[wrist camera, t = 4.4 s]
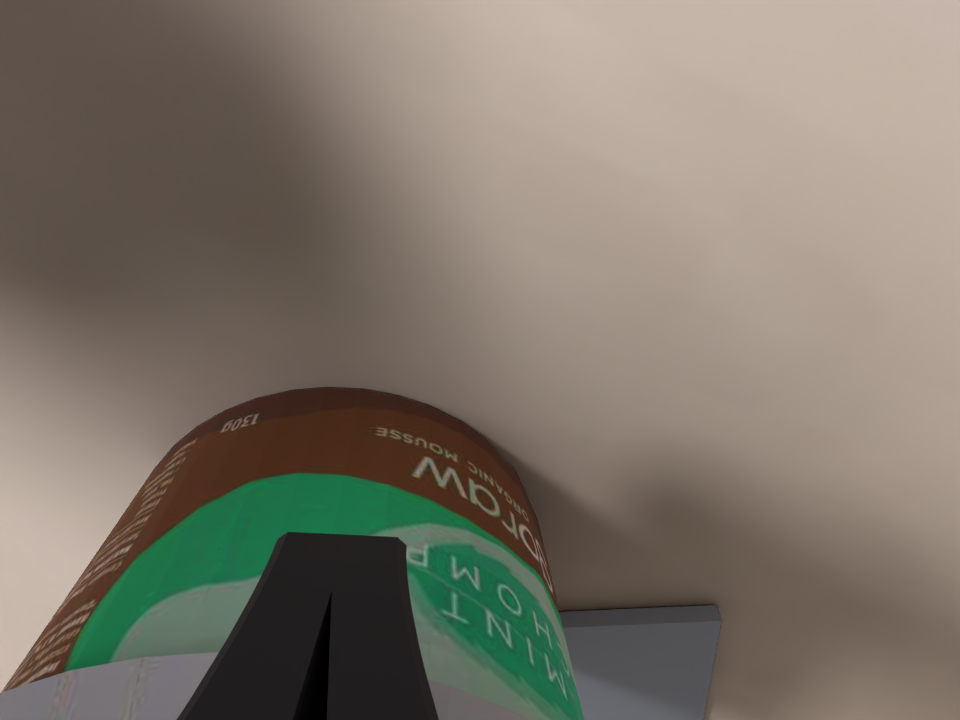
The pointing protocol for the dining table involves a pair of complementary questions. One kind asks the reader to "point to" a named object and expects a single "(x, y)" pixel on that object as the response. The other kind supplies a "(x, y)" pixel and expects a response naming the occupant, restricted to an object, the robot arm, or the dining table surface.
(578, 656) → the mat
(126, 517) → the food container
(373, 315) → the dining table surface
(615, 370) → the dining table surface
